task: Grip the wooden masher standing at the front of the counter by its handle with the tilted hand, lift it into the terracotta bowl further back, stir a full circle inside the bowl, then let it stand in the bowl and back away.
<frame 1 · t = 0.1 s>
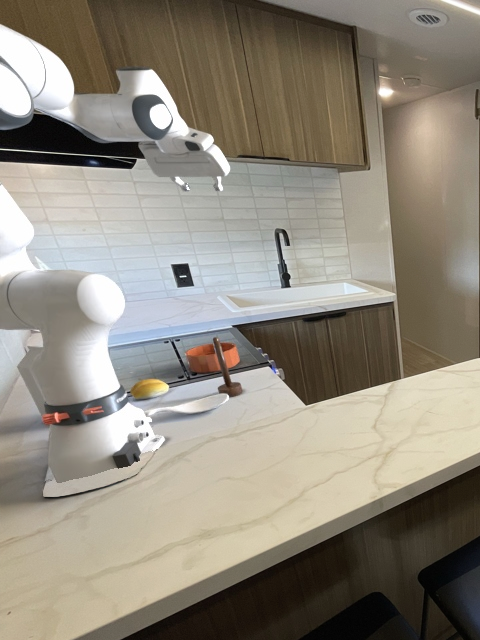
hand: (203, 190, 118), 54 cm above the countertop, tool tilted 30°, fingers open, 8 cm apart
spoon: (156, 422, 100), on the countertop
bread roll: (151, 394, 116), on the countertop
wooden masher: (231, 393, 115), on the countertop
bowl: (216, 365, 136), on the countertop
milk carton: (72, 417, 103), on the countertop
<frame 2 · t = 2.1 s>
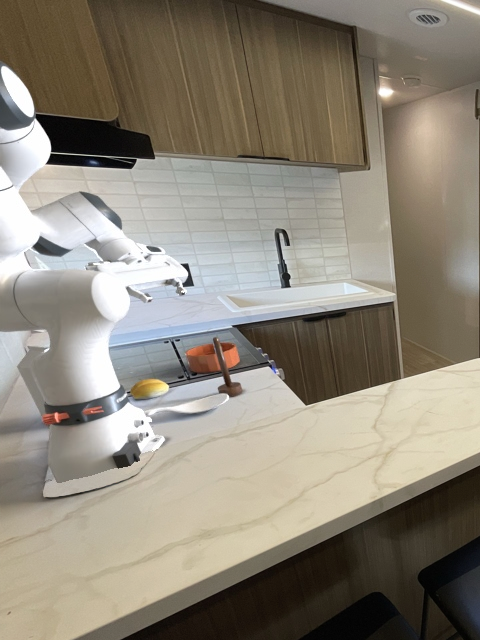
hand: (167, 297, 108), 27 cm above the countertop, tool tilted 45°, fingers open, 8 cm apart
spoon: (156, 422, 100), on the countertop, touching arm
everything else where it was.
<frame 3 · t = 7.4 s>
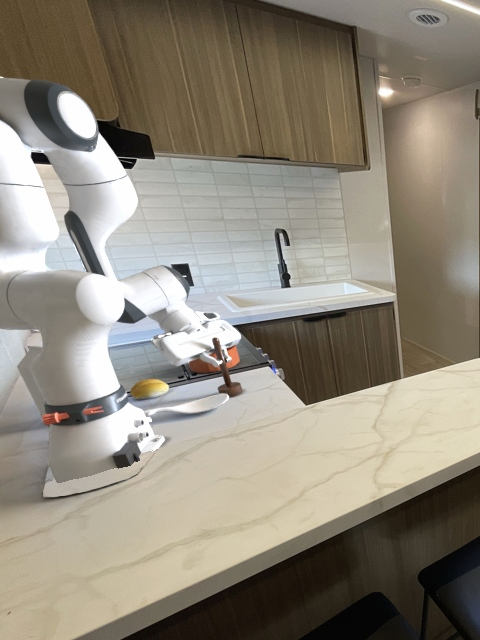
hand: (224, 363, 112), 9 cm above the countertop, tool tilted 45°, fingers closed on wooden masher
wooden masher: (231, 393, 115), on the countertop, touching gripper
everything else where it was.
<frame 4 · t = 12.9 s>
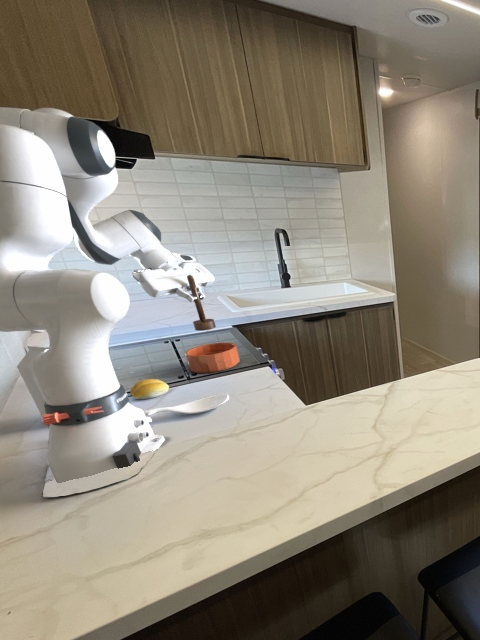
hand: (198, 299, 125), 23 cm above the countertop, tool tilted 45°, fingers closed on wooden masher
wooden masher: (205, 328, 129), point 14 cm above the countertop, touching gripper
everything else where it was.
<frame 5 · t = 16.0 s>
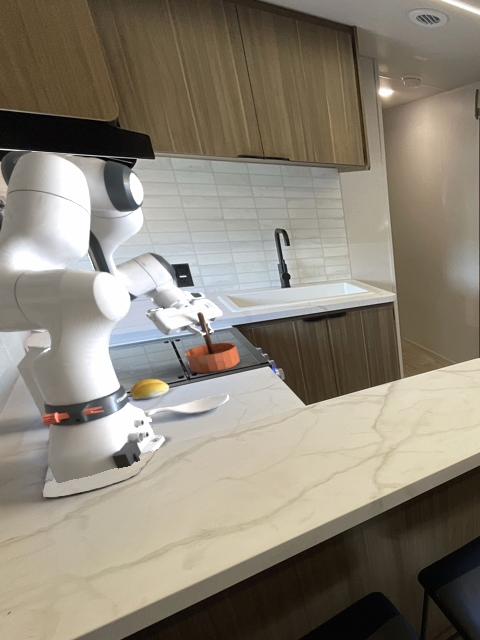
hand: (207, 334, 133), 11 cm above the countertop, tool tilted 45°, fingers closed on wooden masher
wooden masher: (214, 360, 137), point 1 cm above the countertop, touching gripper
everything else where it was.
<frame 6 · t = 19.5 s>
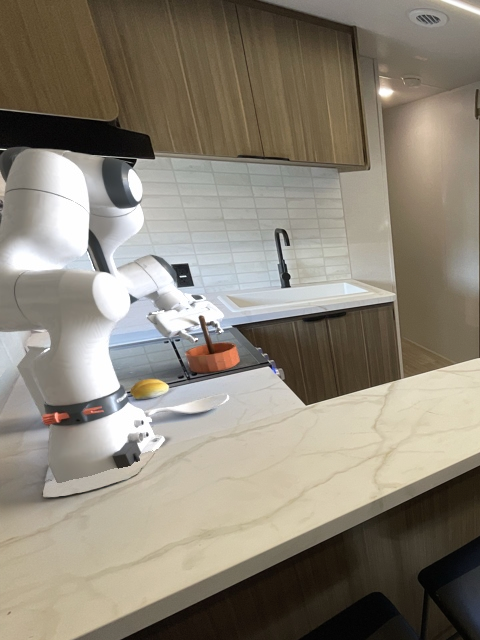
hand: (208, 337, 132), 10 cm above the countertop, tool tilted 45°, fingers open, 8 cm apart
wooden masher: (215, 364, 136), point 1 cm above the countertop, touching bowl
everything else where it was.
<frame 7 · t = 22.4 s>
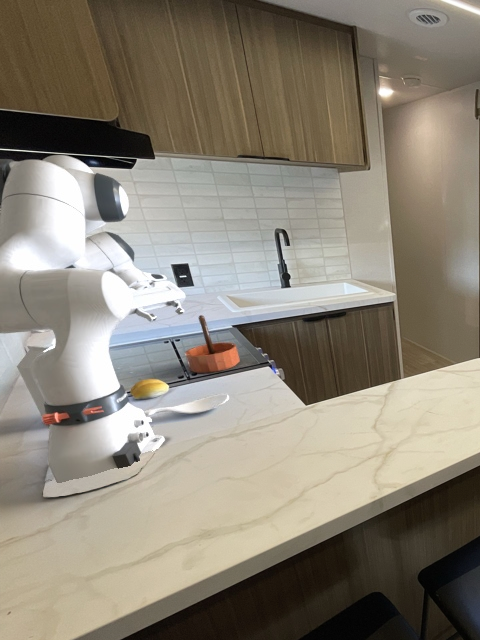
hand: (168, 316, 131), 17 cm above the countertop, tool tilted 45°, fingers open, 8 cm apart
nothing on the countertop moved.
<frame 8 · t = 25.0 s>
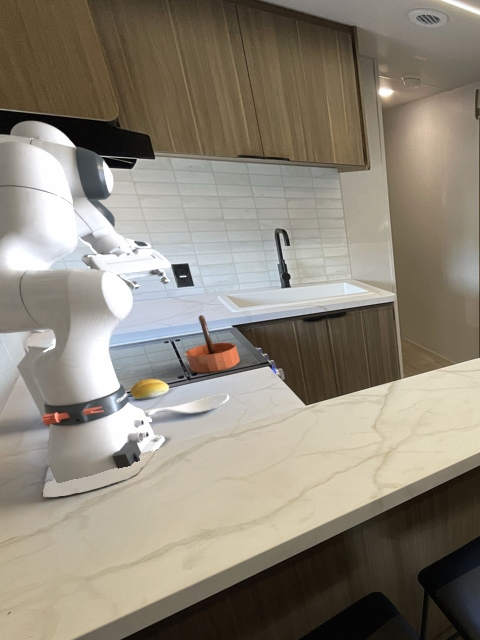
hand: (152, 285, 125), 27 cm above the countertop, tool tilted 45°, fingers open, 8 cm apart
nothing on the countertop moved.
at the end: wooden masher inside the target area in the bowl (0.0 cm from its centre), point 0.6 cm above the bowl's base; wooden masher tilted 0°; the gripper is holding nothing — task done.
